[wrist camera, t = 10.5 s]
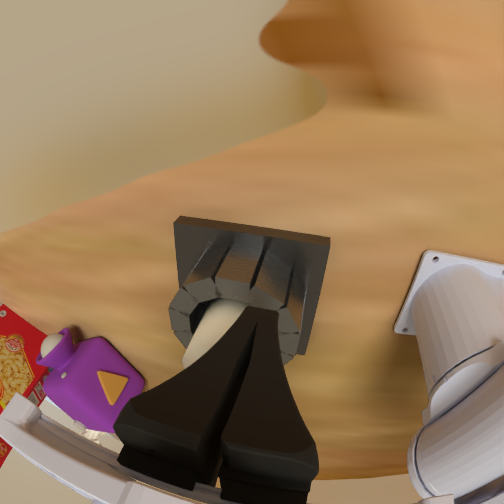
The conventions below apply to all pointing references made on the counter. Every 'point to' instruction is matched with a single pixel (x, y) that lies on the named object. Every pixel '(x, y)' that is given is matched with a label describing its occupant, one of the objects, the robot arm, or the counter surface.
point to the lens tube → (248, 276)
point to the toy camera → (88, 380)
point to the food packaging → (19, 364)
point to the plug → (212, 327)
